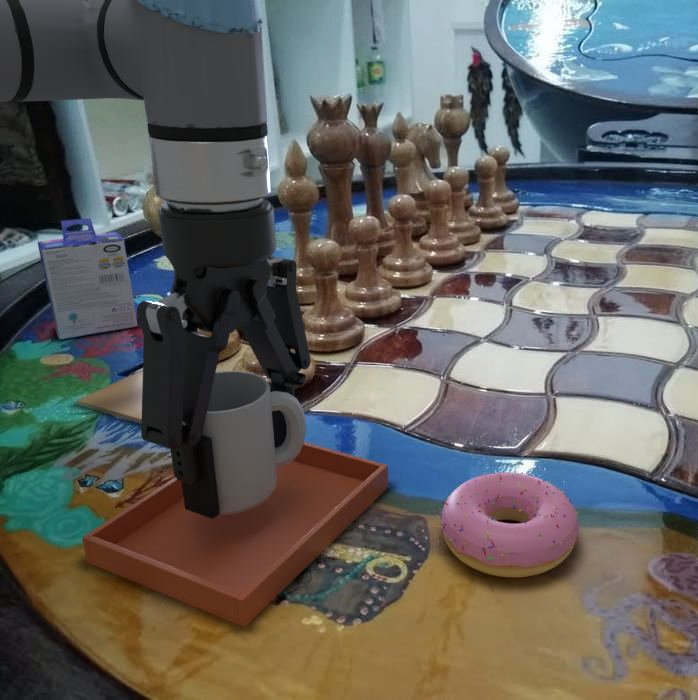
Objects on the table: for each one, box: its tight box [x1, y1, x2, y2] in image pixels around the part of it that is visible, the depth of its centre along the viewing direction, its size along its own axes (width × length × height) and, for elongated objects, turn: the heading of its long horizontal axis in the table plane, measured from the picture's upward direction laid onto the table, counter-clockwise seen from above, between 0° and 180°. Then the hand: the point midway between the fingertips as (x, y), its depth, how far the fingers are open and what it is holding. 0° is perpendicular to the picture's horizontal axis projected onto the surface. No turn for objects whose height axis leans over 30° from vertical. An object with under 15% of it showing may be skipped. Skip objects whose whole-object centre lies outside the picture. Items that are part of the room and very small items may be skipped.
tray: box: [81, 441, 389, 628], centre depth 60 cm, size 15×19×2 cm
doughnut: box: [438, 470, 580, 578], centre depth 58 cm, size 11×11×4 cm
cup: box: [182, 370, 307, 515], centre depth 58 cm, size 7×10×9 cm
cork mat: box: [76, 369, 143, 425], centre depth 80 cm, size 10×10×1 cm
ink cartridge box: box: [37, 217, 139, 340], centre depth 96 cm, size 10×6×14 cm, turn 124°
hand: (244, 480), depth 59 cm, fingers closed on cup, 9 cm apart
